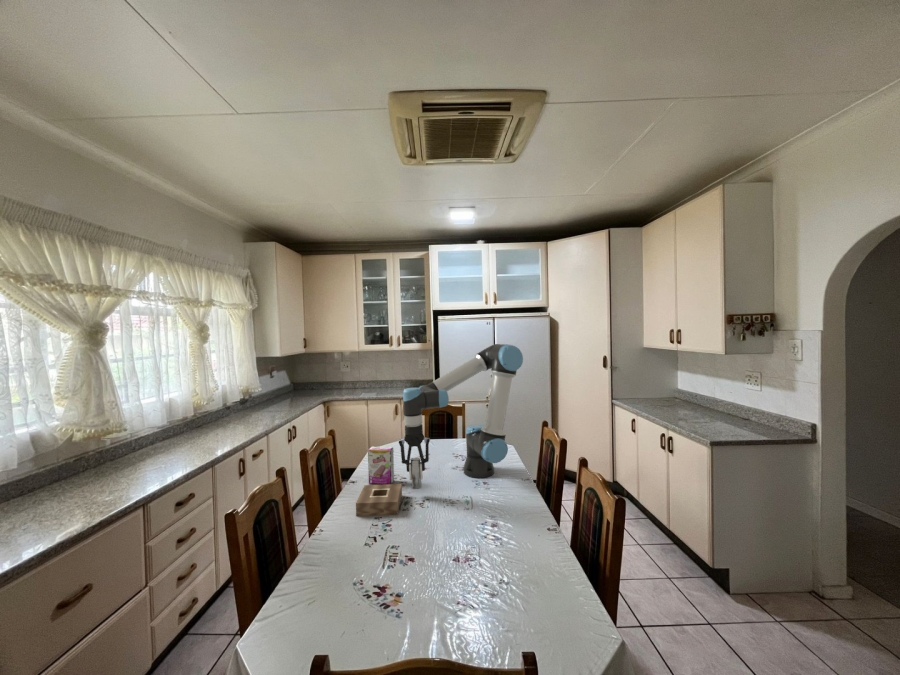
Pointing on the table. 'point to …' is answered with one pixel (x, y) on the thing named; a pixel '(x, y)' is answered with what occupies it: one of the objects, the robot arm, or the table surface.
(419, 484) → the pin
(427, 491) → the table surface
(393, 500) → the block
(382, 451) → the candy bar box
